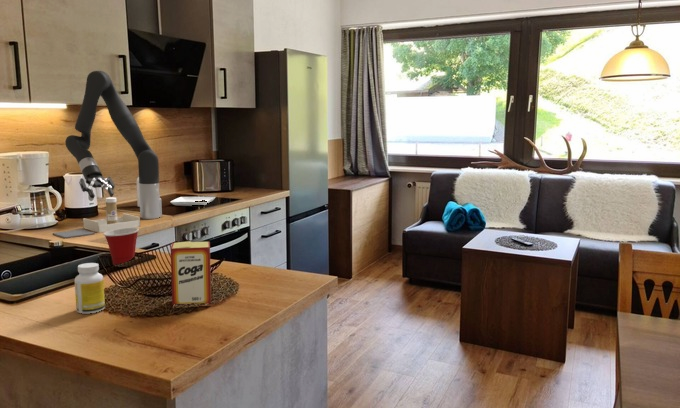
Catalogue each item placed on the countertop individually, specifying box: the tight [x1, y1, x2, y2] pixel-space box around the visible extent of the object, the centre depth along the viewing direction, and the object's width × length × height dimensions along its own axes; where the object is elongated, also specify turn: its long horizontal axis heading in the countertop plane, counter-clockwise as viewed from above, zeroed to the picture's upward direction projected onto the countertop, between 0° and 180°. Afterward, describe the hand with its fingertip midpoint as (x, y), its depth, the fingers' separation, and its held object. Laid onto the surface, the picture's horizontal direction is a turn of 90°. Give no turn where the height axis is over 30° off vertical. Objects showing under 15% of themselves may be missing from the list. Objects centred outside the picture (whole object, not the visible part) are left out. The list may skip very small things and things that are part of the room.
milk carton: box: [136, 176, 140, 208], centre depth 298 cm, size 7×7×19 cm
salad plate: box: [169, 196, 216, 207], centre depth 310 cm, size 21×21×3 cm
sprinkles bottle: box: [104, 196, 118, 224], centre depth 236 cm, size 5×5×13 cm
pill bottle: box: [74, 262, 106, 315], centre depth 131 cm, size 6×6×12 cm
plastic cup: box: [102, 227, 140, 266], centre depth 173 cm, size 11×11×12 cm
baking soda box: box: [170, 240, 212, 305], centre depth 137 cm, size 10×6×16 cm
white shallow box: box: [82, 212, 141, 234], centre depth 237 cm, size 19×14×4 cm
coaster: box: [52, 228, 96, 239], centre depth 221 cm, size 12×12×1 cm
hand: (102, 196), depth 240 cm, fingers open, 8 cm apart
